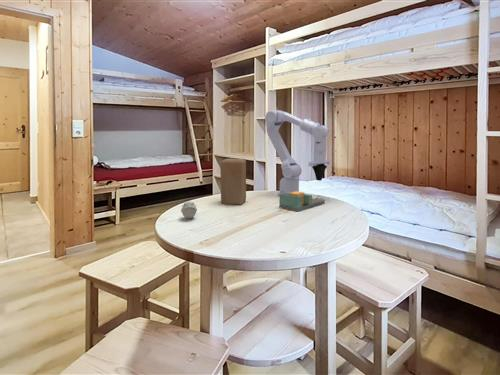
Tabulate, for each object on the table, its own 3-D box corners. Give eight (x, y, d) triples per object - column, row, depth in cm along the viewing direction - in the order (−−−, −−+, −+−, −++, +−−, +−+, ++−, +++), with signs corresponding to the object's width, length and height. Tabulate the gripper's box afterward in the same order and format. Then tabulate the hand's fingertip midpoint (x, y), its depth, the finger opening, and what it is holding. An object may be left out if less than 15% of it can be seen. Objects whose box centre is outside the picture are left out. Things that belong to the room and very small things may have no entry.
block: (241, 205, 150) (241, 161, 146) (220, 204, 152) (219, 160, 148) (246, 200, 160) (246, 158, 156) (226, 199, 162) (225, 158, 158)
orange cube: (289, 204, 146) (289, 192, 145) (296, 202, 150) (296, 191, 149) (296, 205, 144) (296, 194, 143) (303, 203, 147) (303, 192, 146)
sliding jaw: (291, 200, 152) (291, 192, 151) (300, 198, 157) (300, 190, 156) (309, 204, 145) (309, 195, 144) (318, 202, 150) (318, 193, 149)
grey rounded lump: (182, 221, 126) (181, 203, 124) (180, 216, 132) (179, 199, 131) (198, 220, 127) (197, 202, 126) (196, 215, 134) (195, 198, 133)
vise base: (279, 207, 147) (279, 194, 146) (306, 200, 160) (307, 187, 159) (297, 211, 140) (297, 197, 139) (324, 203, 153) (325, 190, 152)
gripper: (318, 153, 150) (317, 183, 152) (335, 151, 159) (334, 179, 162) (305, 152, 155) (304, 181, 157) (323, 150, 164) (322, 177, 167)
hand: (318, 180), depth 160 cm, fingers closed
